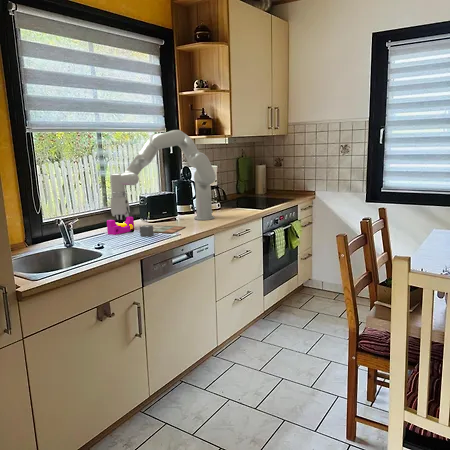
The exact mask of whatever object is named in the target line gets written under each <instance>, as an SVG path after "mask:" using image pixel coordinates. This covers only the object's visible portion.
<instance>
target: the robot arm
mask: <svg viewBox="0 0 450 450" xmlns="http://www.w3.org/2000/svg"><path fill="white" fill-rule="evenodd" d="M171 147H179V148H180V150H181V151H182V153H183V155H184V157H185V158H186V162H187V163H188V165H189V167H192V168H193V169H195V172H194V175H193V181H194V186H195V187H194V188H195V205H196V216H194V220H197V221H209V220H214V219H215V216H214V215H213V212H214V211H213V210H212V207H213V206H212V187H211V185H212V184H213V183H214V182H216V181H215V180H216V178H217V177H216V172H215V170H214V168H213V165H212V163H211V161H210V159H209V157H208V156H207V155H206V154H205V153H203V152H200V151H199V149H198V148H197V146H196V144H195V142H194V140H193V139H192V138H191V137H190V136H189V135H187V133H185V132H183V131H182V130H180V129H172V130H169V131H167V132H161V133H160V132H159V133H152V134H151V135H150V136H149V137H148V139H147V140H146V142H145V143H144V145H143V146H142V148H141V149H140V150H139V152H138V153H137V155H136V156H135V157H134V159H132V161H131V162H130V163H129V165H128V166H127V168H126V169H125V171H124V172H114V173H111V174H110V189H111V199H110V212H111V216H112V217H115V218H116V220H117V224H118V223H123V222H124V223H125V220H126V217H128V216H130V213H131V211H130V210H131V208H130V204H129V199H128V196H127V195H128V193H127V192H126V187H125V186H135V185H137V184H138V183H139V179H140V178H139V174H140V172H142V170H143V169H144V168H145V167H147V166H149V165H150V164H151V162H152V161H153V159H154V158H155V157H156V155H157V154H158V152H159V151H160V149H161V150H162V149H165V148H166V149H167V148H171Z"/></svg>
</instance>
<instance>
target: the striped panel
mask: <svg viewBox="0 0 450 450" xmlns="http://www.w3.org/2000/svg"><path fill="white" fill-rule="evenodd" d="M186 227H187V226H182V225H181V226H179V225H178V226H177V225H153V234H159V233H162V234H161V235H173V234H175V233H178V232H179V231H181V230H184V229H186Z"/></svg>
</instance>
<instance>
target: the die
mask: <svg viewBox="0 0 450 450" xmlns="http://www.w3.org/2000/svg"><path fill="white" fill-rule="evenodd" d="M153 227H154V225H151V224H149V225H148V224H144V225H141V226H139V233H140V234H139V235H140V237H146V236H148V238H149V237H151V236H154V234H155V233H153Z"/></svg>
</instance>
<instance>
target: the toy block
mask: <svg viewBox="0 0 450 450" xmlns="http://www.w3.org/2000/svg"><path fill="white" fill-rule="evenodd" d="M124 223H126V224H127V226H125V227H121V226H118V223H116V220H115V219H107V220H106V230H107V234H108V235H114V236H115V235H120V234H125V233H131V230H130V226H129V224H132V225H133V227H134V228H135V224H134V223H135V222H134V216H130V215H129V216H127V217H125V220H124Z"/></svg>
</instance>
